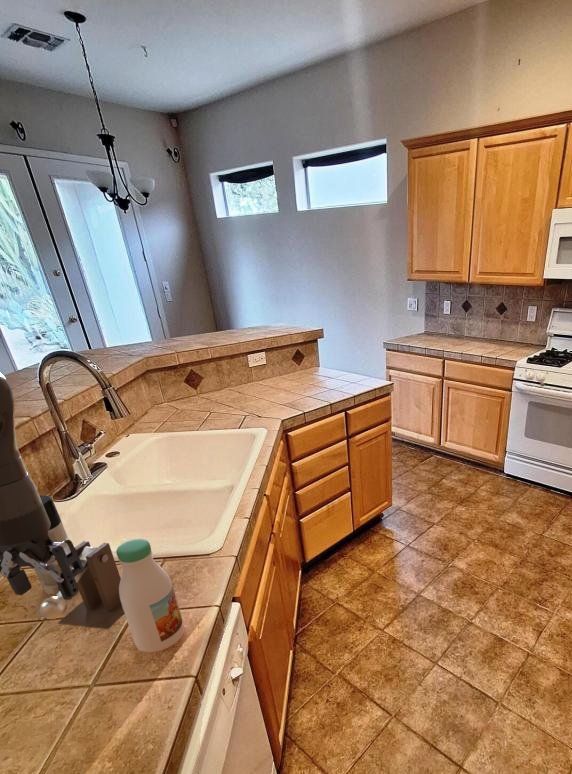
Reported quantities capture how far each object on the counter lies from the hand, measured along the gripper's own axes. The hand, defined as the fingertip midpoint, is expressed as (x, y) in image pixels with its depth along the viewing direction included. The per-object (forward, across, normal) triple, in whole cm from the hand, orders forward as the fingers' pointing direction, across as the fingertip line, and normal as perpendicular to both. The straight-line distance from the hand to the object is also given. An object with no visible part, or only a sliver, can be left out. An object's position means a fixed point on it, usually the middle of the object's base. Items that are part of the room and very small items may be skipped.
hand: (47, 594), depth 70 cm
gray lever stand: (+11, 0, -9) cm, 15 cm away
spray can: (+11, +13, -13) cm, 22 cm away
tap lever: (+3, 0, -5) cm, 6 cm away
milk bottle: (+12, -15, -3) cm, 19 cm away
